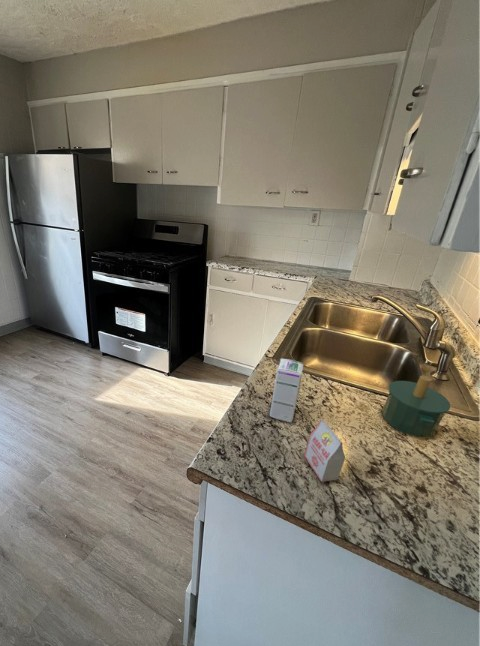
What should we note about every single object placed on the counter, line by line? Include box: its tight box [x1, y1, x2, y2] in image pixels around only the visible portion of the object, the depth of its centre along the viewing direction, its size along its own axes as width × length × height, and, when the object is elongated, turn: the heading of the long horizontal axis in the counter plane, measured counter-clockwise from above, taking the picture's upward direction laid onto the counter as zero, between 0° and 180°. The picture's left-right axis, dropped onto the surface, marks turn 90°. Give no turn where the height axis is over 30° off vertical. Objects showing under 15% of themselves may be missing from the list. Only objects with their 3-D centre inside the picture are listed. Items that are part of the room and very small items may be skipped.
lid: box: [387, 375, 451, 414], centre depth 76 cm, size 13×13×6 cm
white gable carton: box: [303, 419, 346, 483], centre depth 63 cm, size 4×7×10 cm, turn 11°
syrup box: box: [269, 358, 305, 423], centre depth 78 cm, size 6×6×14 cm
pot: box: [381, 392, 445, 438], centre depth 79 cm, size 12×17×8 cm
